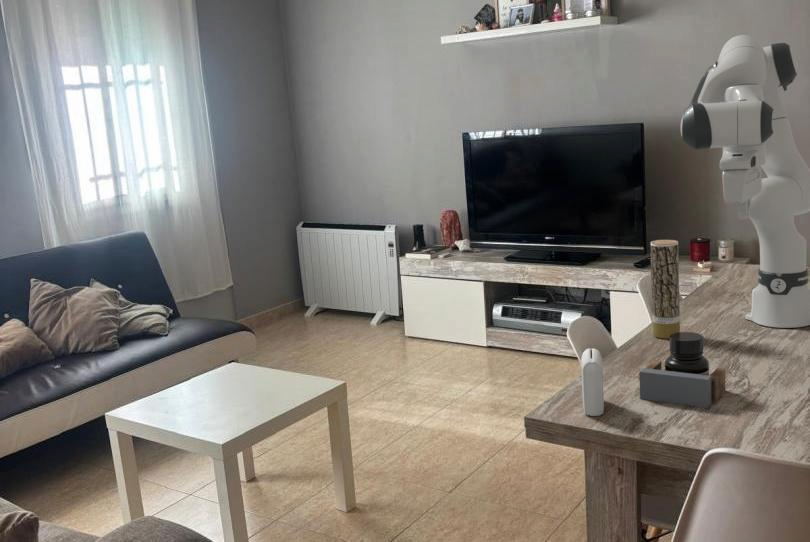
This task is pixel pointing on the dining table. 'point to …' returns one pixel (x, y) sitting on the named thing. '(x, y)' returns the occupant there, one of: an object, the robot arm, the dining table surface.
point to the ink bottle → (687, 354)
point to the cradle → (716, 380)
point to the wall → (675, 387)
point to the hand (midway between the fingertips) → (743, 218)
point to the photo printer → (592, 382)
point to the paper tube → (665, 288)
